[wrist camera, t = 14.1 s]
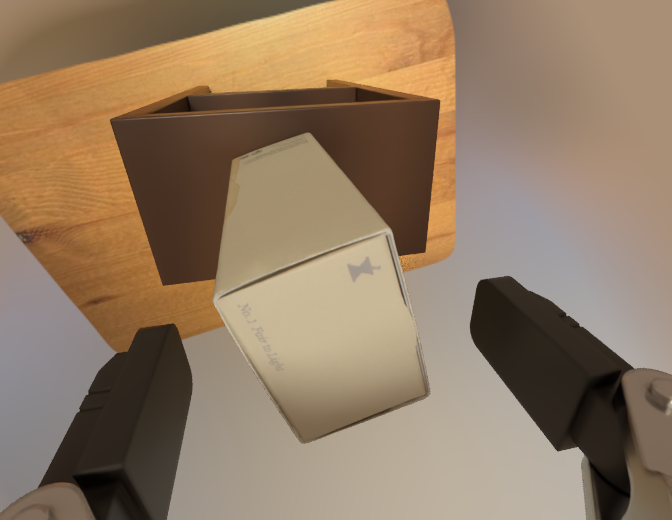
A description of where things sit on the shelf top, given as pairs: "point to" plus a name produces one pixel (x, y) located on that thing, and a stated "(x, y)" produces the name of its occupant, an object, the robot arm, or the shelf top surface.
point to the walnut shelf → (263, 130)
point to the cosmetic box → (315, 292)
